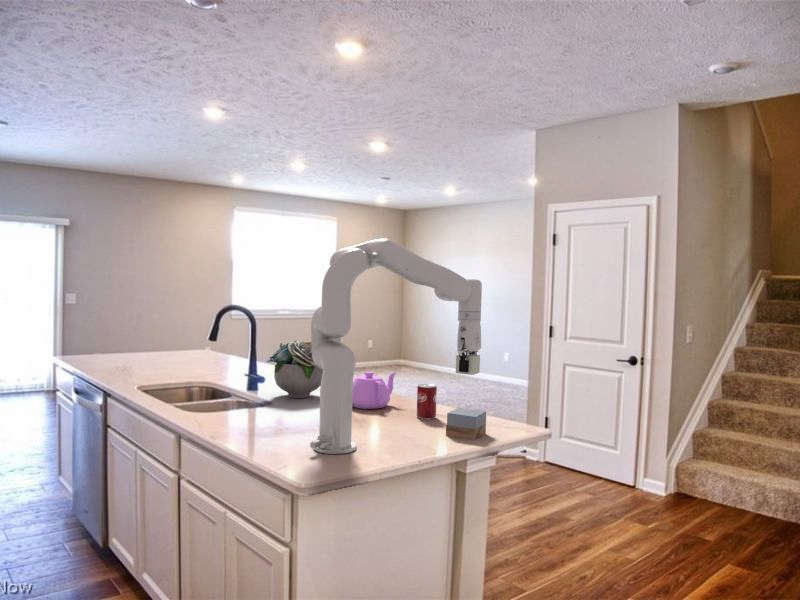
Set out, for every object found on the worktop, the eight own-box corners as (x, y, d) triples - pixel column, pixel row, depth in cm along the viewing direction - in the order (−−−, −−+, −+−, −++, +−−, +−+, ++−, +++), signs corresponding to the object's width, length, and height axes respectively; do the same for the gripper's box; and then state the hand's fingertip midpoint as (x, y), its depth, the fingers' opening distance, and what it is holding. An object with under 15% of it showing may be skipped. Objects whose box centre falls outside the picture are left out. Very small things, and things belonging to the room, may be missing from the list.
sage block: (472, 375, 189) (473, 356, 188) (455, 373, 192) (456, 355, 191) (479, 372, 194) (480, 354, 194) (462, 371, 197) (463, 353, 197)
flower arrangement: (303, 405, 232) (304, 344, 232) (257, 397, 245) (258, 339, 244) (340, 395, 254) (341, 339, 253) (295, 389, 266) (296, 336, 266)
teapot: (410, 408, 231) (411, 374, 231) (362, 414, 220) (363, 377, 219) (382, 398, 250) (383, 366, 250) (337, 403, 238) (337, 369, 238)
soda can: (419, 420, 212) (420, 387, 212) (414, 415, 219) (414, 384, 219) (438, 419, 214) (439, 387, 213) (432, 415, 221) (433, 383, 220)
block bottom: (473, 441, 186) (474, 429, 186) (445, 436, 191) (446, 424, 191) (485, 435, 195) (485, 423, 195) (458, 430, 200) (458, 419, 200)
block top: (475, 429, 186) (476, 416, 186) (446, 425, 191) (447, 413, 191) (485, 423, 195) (486, 411, 195) (458, 419, 200) (458, 407, 200)
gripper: (469, 318, 183) (468, 375, 183) (489, 316, 198) (487, 369, 198) (448, 316, 187) (446, 372, 187) (469, 315, 202) (467, 366, 202)
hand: (467, 370), depth 193 cm, fingers closed on sage block, 6 cm apart
